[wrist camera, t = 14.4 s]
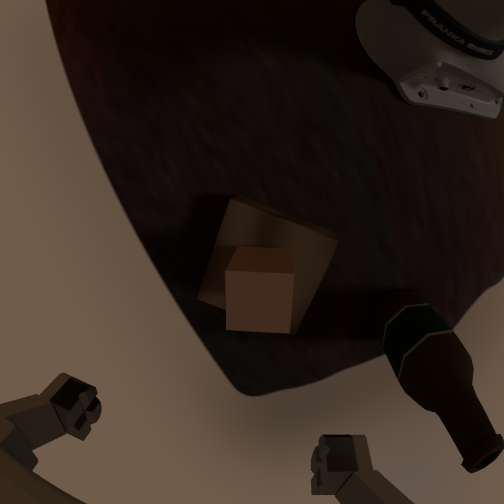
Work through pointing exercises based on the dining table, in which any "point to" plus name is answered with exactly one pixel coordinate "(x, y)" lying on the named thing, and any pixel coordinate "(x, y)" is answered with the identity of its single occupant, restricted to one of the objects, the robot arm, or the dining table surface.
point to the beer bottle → (436, 373)
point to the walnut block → (270, 236)
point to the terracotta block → (259, 290)
